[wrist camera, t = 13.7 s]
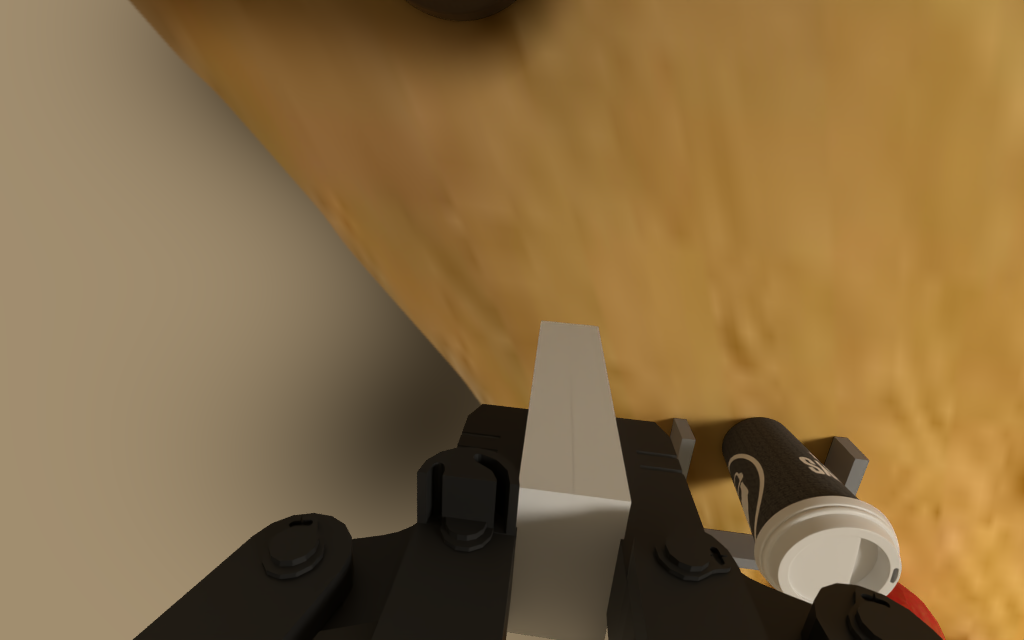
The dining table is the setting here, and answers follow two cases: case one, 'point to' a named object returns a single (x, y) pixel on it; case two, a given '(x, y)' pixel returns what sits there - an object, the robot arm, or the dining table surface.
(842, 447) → the bay
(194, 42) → the dining table surface
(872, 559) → the coffee cup
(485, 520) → the robot arm
